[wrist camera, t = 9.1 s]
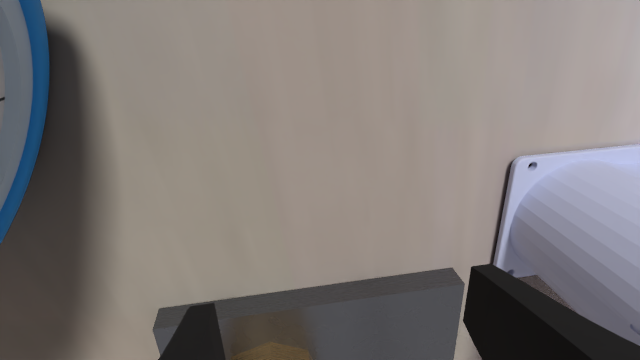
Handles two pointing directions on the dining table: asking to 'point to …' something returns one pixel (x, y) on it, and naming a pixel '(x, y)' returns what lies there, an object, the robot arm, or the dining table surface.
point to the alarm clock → (21, 99)
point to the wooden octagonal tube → (273, 353)
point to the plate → (342, 319)
